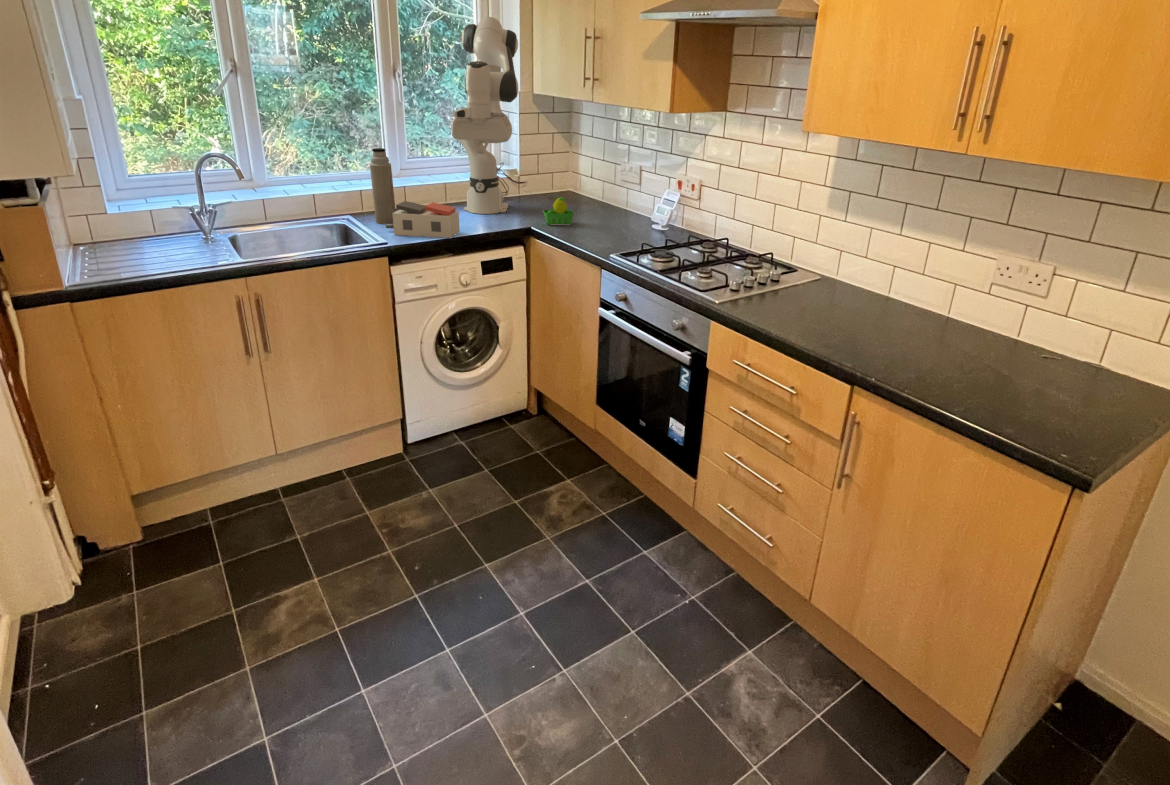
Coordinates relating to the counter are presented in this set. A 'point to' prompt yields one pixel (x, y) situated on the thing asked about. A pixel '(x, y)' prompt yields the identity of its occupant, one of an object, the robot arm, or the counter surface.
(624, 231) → the counter surface
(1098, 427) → the counter surface
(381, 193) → the thermos bottle
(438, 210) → the red rocker
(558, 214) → the fruit basket
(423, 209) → the black rocker
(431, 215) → the rocker switch box
